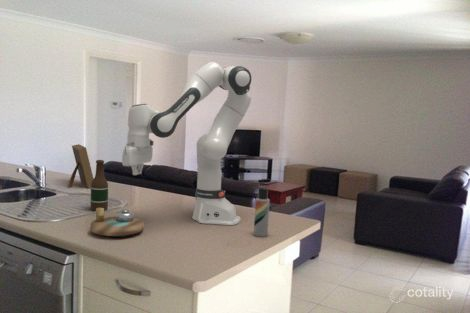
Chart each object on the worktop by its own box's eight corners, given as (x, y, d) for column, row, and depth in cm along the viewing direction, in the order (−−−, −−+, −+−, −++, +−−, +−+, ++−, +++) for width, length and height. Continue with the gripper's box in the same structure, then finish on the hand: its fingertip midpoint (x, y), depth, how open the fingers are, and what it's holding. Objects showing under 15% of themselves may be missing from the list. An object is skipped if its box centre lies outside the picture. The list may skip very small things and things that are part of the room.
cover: (136, 218, 162) (137, 209, 162) (128, 222, 156) (128, 212, 155) (121, 216, 164) (122, 207, 164) (112, 220, 157) (112, 210, 157)
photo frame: (87, 182, 256) (88, 144, 254) (95, 188, 238) (95, 147, 235) (63, 183, 249) (63, 144, 246) (69, 189, 230) (69, 147, 228)
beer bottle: (89, 212, 182) (90, 161, 180) (91, 208, 190) (92, 159, 187) (107, 211, 184) (108, 161, 182) (108, 207, 192) (109, 159, 189)
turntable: (152, 224, 162) (152, 208, 161) (127, 238, 143) (127, 219, 142) (109, 219, 167) (109, 203, 166) (79, 231, 147) (79, 213, 147)
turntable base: (141, 229, 160) (142, 226, 160) (124, 239, 146) (124, 235, 146) (111, 225, 163) (111, 222, 163) (91, 234, 150) (91, 231, 150)
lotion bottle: (259, 232, 165) (261, 185, 163) (270, 235, 162) (273, 187, 160) (250, 234, 161) (253, 186, 159) (262, 238, 157) (265, 189, 155)
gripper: (132, 144, 155) (131, 178, 156) (155, 141, 174) (154, 172, 176) (118, 142, 156) (117, 177, 158) (142, 140, 176) (141, 170, 177)
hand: (137, 174), depth 167 cm, fingers closed
